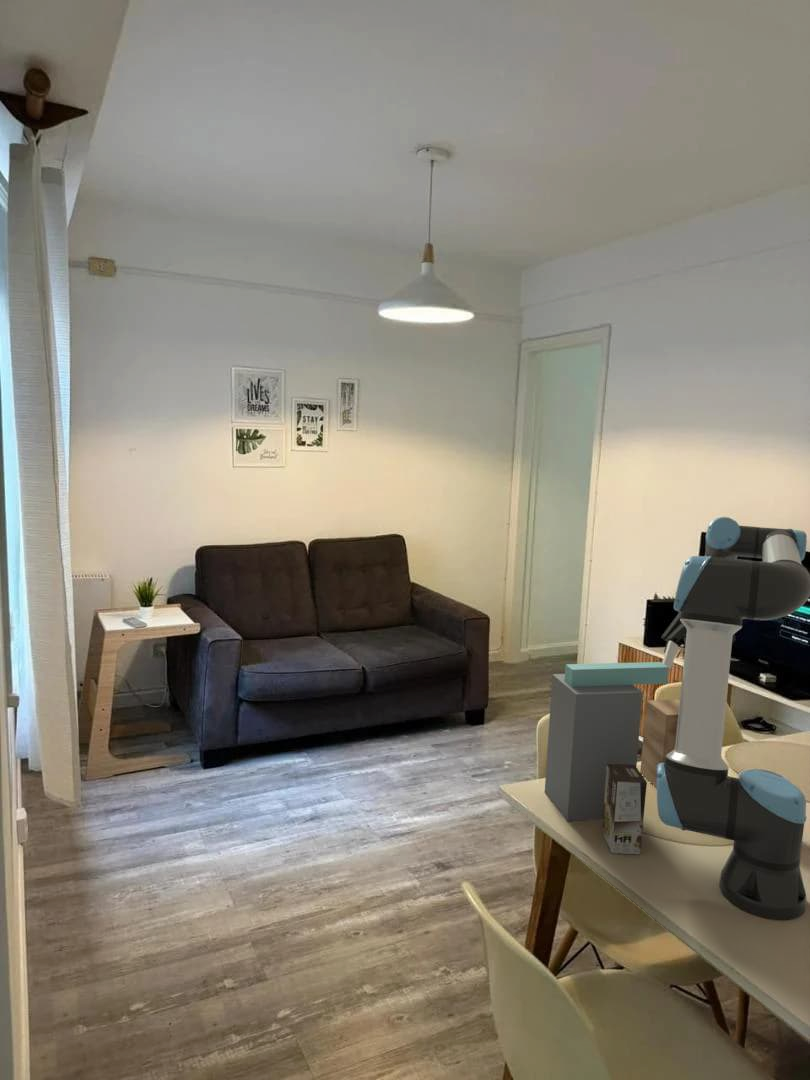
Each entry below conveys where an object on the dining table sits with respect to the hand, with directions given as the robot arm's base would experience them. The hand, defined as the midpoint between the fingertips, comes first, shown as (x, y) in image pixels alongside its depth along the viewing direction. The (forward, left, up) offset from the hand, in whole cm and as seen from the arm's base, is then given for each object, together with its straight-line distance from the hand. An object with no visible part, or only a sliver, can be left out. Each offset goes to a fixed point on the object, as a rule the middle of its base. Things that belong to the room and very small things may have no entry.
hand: (688, 667), depth 186 cm
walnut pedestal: (+5, +1, -32) cm, 32 cm away
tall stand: (-8, +25, -32) cm, 41 cm away
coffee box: (-25, +22, -32) cm, 46 cm away
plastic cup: (-17, -12, -32) cm, 39 cm away
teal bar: (-7, +20, -2) cm, 21 cm away
